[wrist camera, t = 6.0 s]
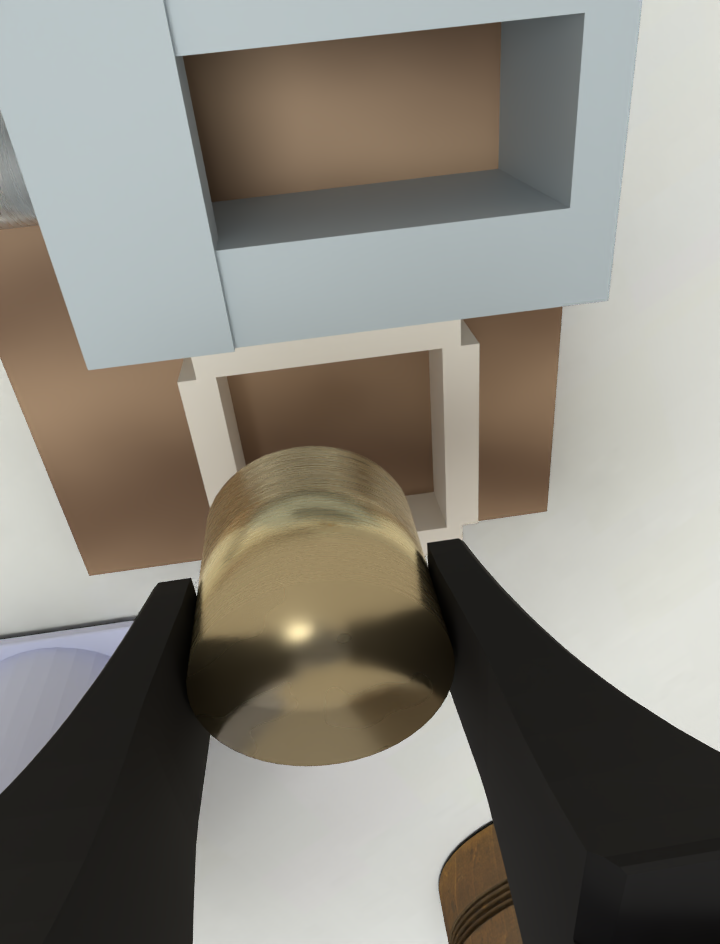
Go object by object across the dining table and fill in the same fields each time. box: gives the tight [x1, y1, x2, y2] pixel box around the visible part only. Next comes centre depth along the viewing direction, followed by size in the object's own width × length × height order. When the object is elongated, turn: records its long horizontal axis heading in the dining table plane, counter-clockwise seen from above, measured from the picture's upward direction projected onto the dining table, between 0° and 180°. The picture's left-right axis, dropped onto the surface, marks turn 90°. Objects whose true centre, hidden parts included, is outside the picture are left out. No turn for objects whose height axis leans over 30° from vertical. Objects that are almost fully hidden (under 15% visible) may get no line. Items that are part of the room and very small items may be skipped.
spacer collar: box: [177, 319, 480, 555], centre depth 20 cm, size 8×8×2 cm
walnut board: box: [0, 22, 562, 576], centre depth 19 cm, size 18×16×1 cm
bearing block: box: [0, 0, 642, 370], centre depth 14 cm, size 7×11×5 cm, turn 95°
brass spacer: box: [186, 446, 455, 766], centre depth 13 cm, size 4×4×4 cm
